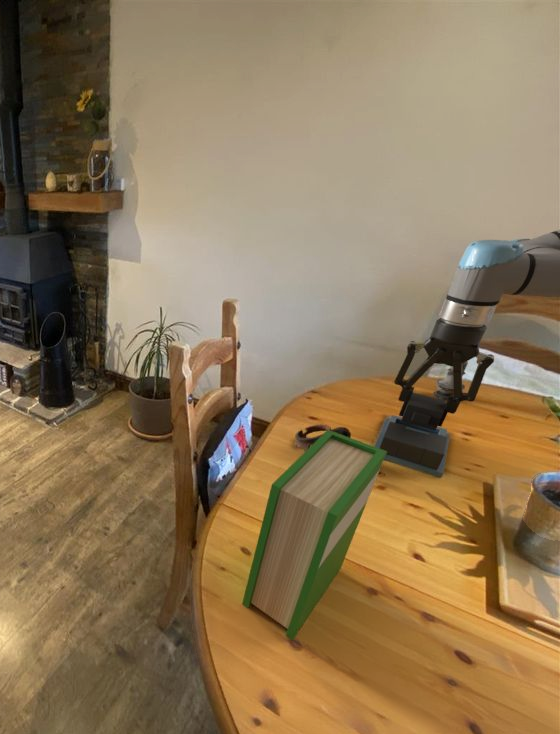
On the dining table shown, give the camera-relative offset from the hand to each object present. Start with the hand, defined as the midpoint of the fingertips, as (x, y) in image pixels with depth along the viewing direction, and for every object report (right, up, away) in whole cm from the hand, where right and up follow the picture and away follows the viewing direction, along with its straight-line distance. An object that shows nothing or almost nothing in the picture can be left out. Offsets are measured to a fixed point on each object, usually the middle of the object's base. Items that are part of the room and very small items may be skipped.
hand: (420, 418), depth 94 cm
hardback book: (-46, -25, -28) cm, 59 cm away
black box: (0, 0, 0) cm, 0 cm away
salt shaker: (+24, +4, +19) cm, 31 cm away
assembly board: (-2, -7, +1) cm, 7 cm away
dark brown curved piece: (-22, -8, 0) cm, 24 cm away
